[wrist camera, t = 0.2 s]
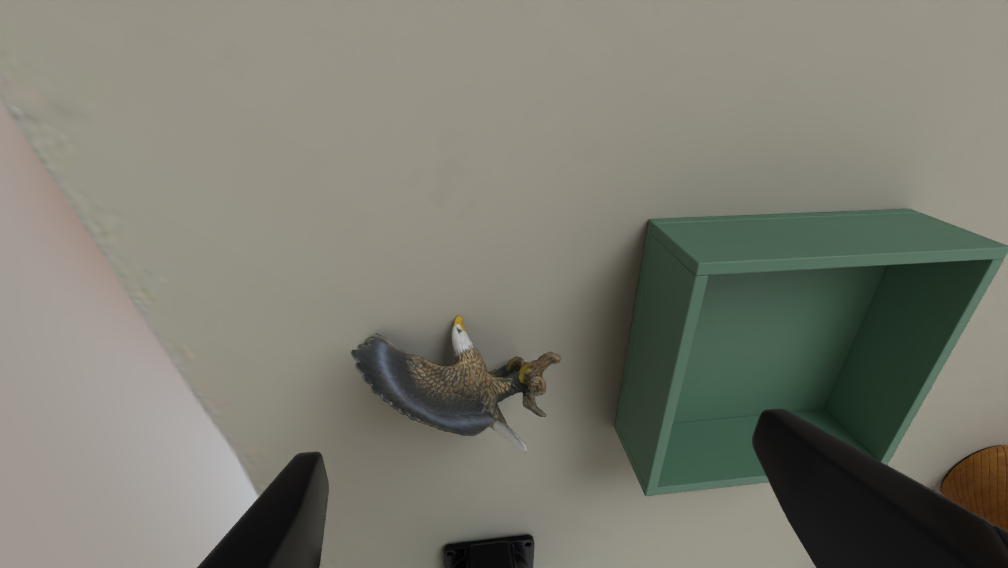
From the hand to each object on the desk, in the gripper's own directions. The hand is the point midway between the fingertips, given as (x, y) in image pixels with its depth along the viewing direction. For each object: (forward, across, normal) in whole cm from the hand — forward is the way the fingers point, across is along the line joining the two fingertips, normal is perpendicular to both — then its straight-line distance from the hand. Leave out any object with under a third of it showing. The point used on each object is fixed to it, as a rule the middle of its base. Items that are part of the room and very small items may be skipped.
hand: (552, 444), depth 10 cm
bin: (+14, -16, +8) cm, 23 cm away
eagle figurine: (+15, +2, +8) cm, 17 cm away
